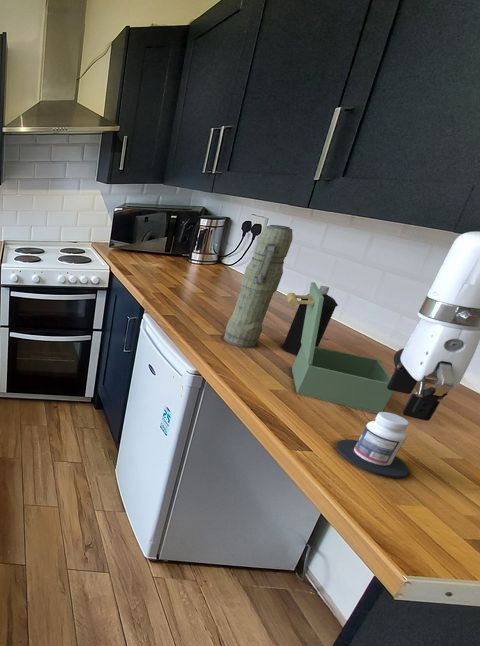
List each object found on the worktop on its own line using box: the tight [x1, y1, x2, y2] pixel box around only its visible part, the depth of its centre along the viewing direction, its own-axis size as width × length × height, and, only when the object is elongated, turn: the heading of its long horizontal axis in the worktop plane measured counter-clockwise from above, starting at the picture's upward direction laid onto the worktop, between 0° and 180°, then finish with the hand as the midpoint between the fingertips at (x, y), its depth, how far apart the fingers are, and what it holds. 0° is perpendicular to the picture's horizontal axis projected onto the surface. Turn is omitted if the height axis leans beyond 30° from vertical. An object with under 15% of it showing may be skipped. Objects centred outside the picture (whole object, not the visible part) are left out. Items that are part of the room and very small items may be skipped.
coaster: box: [335, 439, 409, 479], centre depth 75 cm, size 10×10×1 cm
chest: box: [291, 345, 395, 415], centre depth 97 cm, size 15×15×8 cm
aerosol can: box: [281, 285, 339, 356], centre depth 115 cm, size 8×8×20 cm
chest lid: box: [286, 282, 324, 364], centre depth 98 cm, size 16×15×6 cm
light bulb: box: [393, 347, 405, 373], centre depth 101 cm, size 6×6×10 cm
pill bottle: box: [354, 411, 409, 466], centre depth 74 cm, size 5×5×9 cm
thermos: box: [223, 224, 294, 349], centre depth 117 cm, size 9×12×35 cm
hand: (406, 403), depth 70 cm, fingers open, 9 cm apart
